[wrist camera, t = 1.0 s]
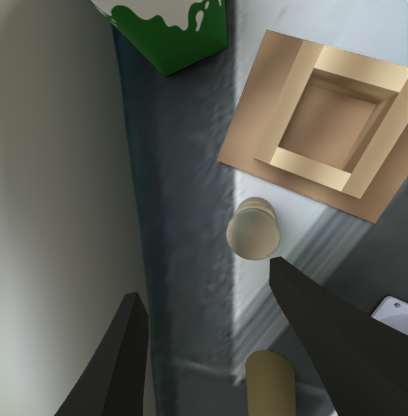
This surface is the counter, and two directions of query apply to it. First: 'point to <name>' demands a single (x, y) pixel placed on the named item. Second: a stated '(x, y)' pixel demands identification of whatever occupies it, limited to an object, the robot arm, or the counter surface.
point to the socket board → (323, 124)
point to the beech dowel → (253, 230)
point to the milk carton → (169, 29)
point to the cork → (270, 385)
